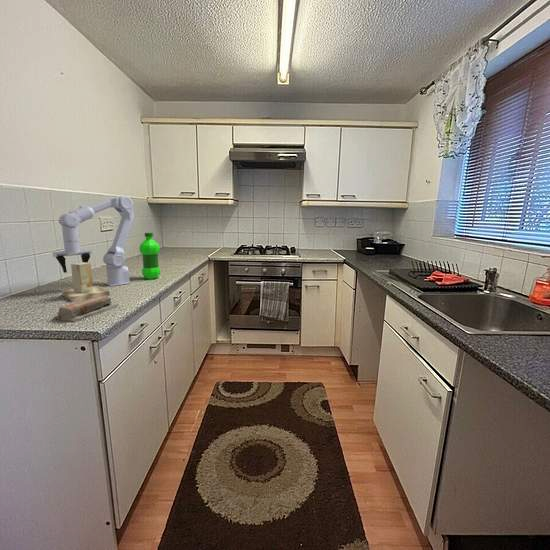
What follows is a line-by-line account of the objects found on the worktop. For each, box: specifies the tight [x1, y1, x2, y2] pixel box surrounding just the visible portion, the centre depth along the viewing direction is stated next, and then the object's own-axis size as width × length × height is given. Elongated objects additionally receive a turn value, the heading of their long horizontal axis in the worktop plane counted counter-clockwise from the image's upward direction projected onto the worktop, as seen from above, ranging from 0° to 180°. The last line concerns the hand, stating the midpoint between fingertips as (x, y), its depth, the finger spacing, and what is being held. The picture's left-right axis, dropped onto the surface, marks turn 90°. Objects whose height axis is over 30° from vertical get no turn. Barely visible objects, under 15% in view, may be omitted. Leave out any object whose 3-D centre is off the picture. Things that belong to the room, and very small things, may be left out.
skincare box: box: [70, 261, 94, 293], centre depth 126 cm, size 6×4×12 cm
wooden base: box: [62, 285, 110, 303], centre depth 128 cm, size 14×14×2 cm
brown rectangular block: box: [53, 296, 119, 323], centre depth 106 cm, size 18×5×10 cm
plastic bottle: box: [139, 232, 162, 280], centre depth 161 cm, size 10×10×25 cm
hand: (75, 271), depth 133 cm, fingers open, 7 cm apart
